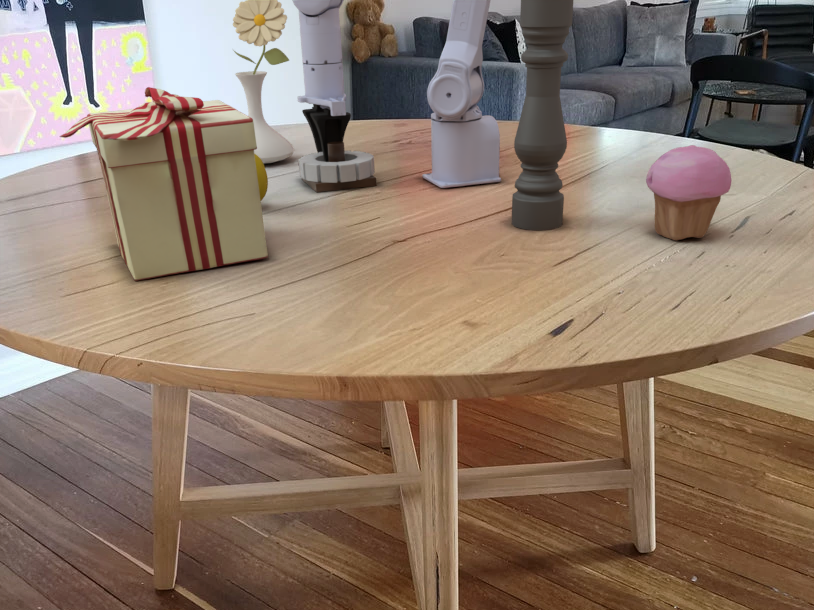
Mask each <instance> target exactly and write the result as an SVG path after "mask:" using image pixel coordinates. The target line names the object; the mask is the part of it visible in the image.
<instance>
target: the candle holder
mask: <svg viewBox="0 0 814 610" xmlns="http://www.w3.org/2000/svg"><path fill="white" fill-rule="evenodd" d="M519 13H520V14H519V15H520V17H519V27H520V28H522V32H521V34H522V36H523V38H524V41H525V44H526V45H527V48H526V50H524V51H523V52H522V53H521V55H520V60H521V62H522V63H524V64H525V65H524V67H525V68H526V76H525V77H526V80H525V81H526V82H525V96H524V97H525V98H524V100H523V104H522V109H521V113H520V117H519V121H518V124H517V129H516V132H515V137H514V141H513V147H514V152H515V155H516V157H517V158H518V160H519V162H521V163H520V168H521V169H522V172H521V173H520V174H519V175H518V178H516V179H515V182H514V189H516V190H517V191H516V192H513V193H512V195H511V225H512V227H515V228H517V229H520V230H528V231H546V230H554V229H558V228H559V227H560V228H561V226H563V220H564V219H563V218H564V203H565V195H564V193H563V192H561V191H560V190H562V189H563V187H564V185H563V181H562V179H561V178H560V175H559V174H558V172H556V170H557V169H558V168H559V162H560V161H561V160H562V158H563V157H564V155H565V153H566V150H567V147H568V139H567V138H568V137H567V132H566V127H565V120H564V115H563V108H562V102H561V79H562V67H564V63H566V62H567V61H568V58H569V53H568V52H567V50H564V48H563V45H564V44H565V43H566V38H567V37H568V36H569V34H570V27H572V26H573V17H574V0H520V12H519Z"/></svg>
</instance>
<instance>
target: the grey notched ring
mask: <svg viewBox="0 0 814 610" xmlns="http://www.w3.org/2000/svg"><path fill="white" fill-rule="evenodd" d="M344 150H345V149H344ZM375 169H376V168H375V156H374V154H372V153H370V152H366V151H361V150H360V151H359V150H345V161H343V162H326V161H325V159H324V155H323V152H319V153H318V152H313V153H308V154H305V155H302V156H301V157H300V158H299V159H298V171H299V177H300V178H301V179H302V178H303V179H304V180H307V181H313V182H320V181H321V183H337V182H338V181H340V182H349V181H356V179H357V180H361V179H365V178H368V177H370V176H372V175H373V176H374V175H375V173H376V170H375Z"/></svg>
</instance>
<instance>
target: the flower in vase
mask: <svg viewBox="0 0 814 610" xmlns="http://www.w3.org/2000/svg"><path fill="white" fill-rule="evenodd" d="M238 5H239V6H238V7H237V8H235V10H234V11H235V12H234V13H235V14H234V16H233V18H232V21H233V22H232V26H233V27H234V28H235V33H236V34H239V35H238V39H239V41H243V42H246V43H247V44H248V45H254V46H255V47H262V53H261V56H260V57H259V59H258V60H257V63H256V62H255V61H254V60H252V58H250V57H248V56H247V55H243V54H241V53H238V52H236V50H235V49H232V51H233V52H234V54H236V55H237V56H238V57H239V58H242V59H243V60H246V61H248V62H251V63H252V64H255V66H254V69H253V70H251V71H250V70H249V71H239V72H235V73H234V75H235V77H237V79H238V80H239V82H240V84H241V86H242V88H243V91H244V94H245V95H244V96H245V98H246V104H247V113H248V115H247V116H249V117H251V118H252V119H253V122H254V129H255V137H256V145H257V149H256V150H254V154H256V155H257V156H258V157H259V158H260V159H261V160H262V162H263V164H264V165H265V164H272V163H276V162H279V161H283V160H286V159H287V158H289V157H291V156H292V155H293V154H294V152H295V148H294V146H293V144H292V143H291V142H290V141H289V140H288V139H287V138H286V137H285V136H283V135H282V134H281V133H280V132H278V131H277V130H275V129H274V128H273V127H272V126H270V124H268V123H267V121H266V120H265V117H264V113H263V107H262V106H263V105H262V91H263V90H262V89H263V84H264V80H265V79H266V76H267V74H268V72H267V71H263V70H258V68H259V66H260V64H261V61H262V60H263V58H264V59H265V60H266V62H267V63H268V65H272V66H275V65H280V64H283V63H287V62H289V61H290V59H289V58H288V56H287V55H286V54H285V52H284V51H283V50H281V49H280V48H277V47H273V48H270V49H269V50H267V51H266V46H267V45H268V44H269V43H270V42H276V41H277V40H278V39H280V37H281V36H282V35H283V31H282V30H284V29H285V28H286V25H285V24H286V23H287V20H288V15H287V14H284V13H285V9H284V8H283V7H282V5H283V4H282V2H280V1H278V0H244V1H243V0H242V1H240V2H239V3H238Z"/></svg>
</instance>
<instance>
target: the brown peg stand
mask: <svg viewBox="0 0 814 610" xmlns="http://www.w3.org/2000/svg"><path fill="white" fill-rule="evenodd" d="M328 158H329V162H343V161H345V142H344V141H343V142H329V143H328ZM301 180H302V182H303V183H305V184H306V185H308V187H310V188H311V189H312V190H313V191H314V192H316V193H323V192H331V191H333V192H334V191H341V190H350V189H351V190H352V189H359V188H360V189H361V188H367V187H376V186H377V177H376V176H374V174H373V175H372V176H370V177H368V178H365V179H361V180H357V179H356V181H349V182H340V181H338V182H337V183H321V181H320V182H313V181H307V180H304V179H303V178H301Z"/></svg>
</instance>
